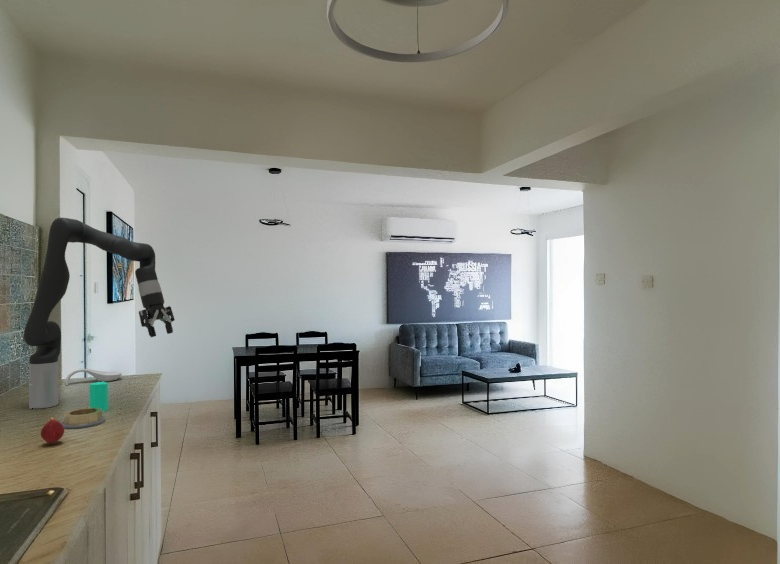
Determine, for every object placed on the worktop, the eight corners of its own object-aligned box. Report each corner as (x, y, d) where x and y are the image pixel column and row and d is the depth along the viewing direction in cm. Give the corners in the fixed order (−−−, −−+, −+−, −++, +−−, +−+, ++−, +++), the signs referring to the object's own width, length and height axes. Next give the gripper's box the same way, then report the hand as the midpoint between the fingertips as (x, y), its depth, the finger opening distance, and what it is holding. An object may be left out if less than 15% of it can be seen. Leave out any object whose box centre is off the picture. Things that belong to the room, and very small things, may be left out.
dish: (60, 431, 160) (60, 428, 160) (61, 421, 171) (61, 418, 171) (106, 424, 167) (106, 422, 167) (104, 416, 178) (104, 413, 178)
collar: (64, 427, 162) (63, 418, 162) (64, 419, 171) (64, 410, 171) (102, 421, 168) (102, 413, 168) (101, 414, 177) (101, 406, 177)
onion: (68, 441, 150) (68, 416, 150) (50, 448, 144) (50, 421, 144) (55, 439, 152) (55, 414, 152) (36, 446, 146) (36, 419, 146)
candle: (94, 413, 181) (94, 381, 181) (86, 411, 185) (86, 379, 184) (111, 410, 186) (110, 378, 186) (102, 407, 190) (102, 377, 190)
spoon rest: (119, 377, 250) (119, 363, 249) (123, 381, 240) (123, 366, 240) (64, 383, 235) (64, 368, 235) (66, 388, 226) (66, 372, 226)
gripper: (157, 295, 193) (168, 334, 192) (128, 297, 180) (139, 340, 179) (172, 290, 191) (183, 330, 190) (144, 292, 177) (155, 335, 177)
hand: (161, 335), depth 185 cm, fingers open, 8 cm apart
